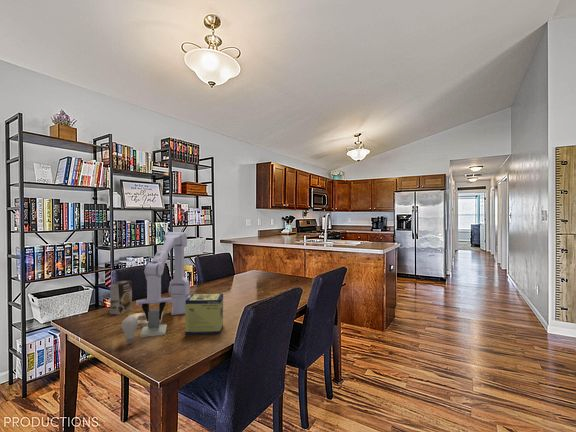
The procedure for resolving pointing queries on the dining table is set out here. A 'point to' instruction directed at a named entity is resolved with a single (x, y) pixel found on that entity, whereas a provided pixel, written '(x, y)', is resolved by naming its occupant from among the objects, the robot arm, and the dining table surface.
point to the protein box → (204, 314)
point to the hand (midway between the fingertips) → (154, 319)
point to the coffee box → (120, 297)
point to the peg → (153, 318)
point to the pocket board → (142, 319)
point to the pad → (153, 331)
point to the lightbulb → (129, 328)
